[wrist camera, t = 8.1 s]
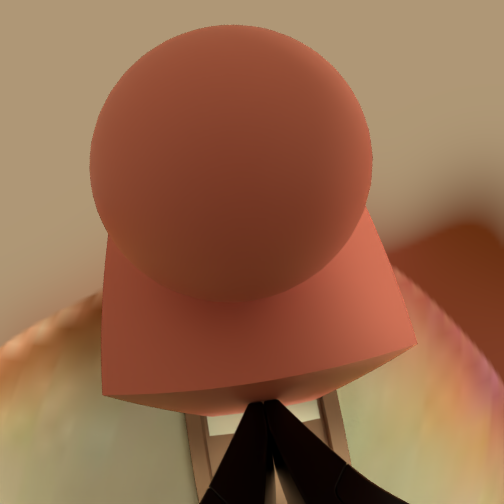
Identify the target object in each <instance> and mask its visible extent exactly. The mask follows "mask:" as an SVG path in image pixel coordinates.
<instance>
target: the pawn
mask: <svg viewBox="0 0 504 504" xmlns="http://www.w3.org/2000/svg"><path fill="white" fill-rule="evenodd" d="M372 160H373V156H372V148H371V140H370V135H369V129H368V126H367V123H366V120H365V117H364V114H363V111H362V109H361V106H360V104H359V102H358V101H357V99H356V97H355V95H354V93H353V91H352V90H351V88H350V87H349V85H348V84H347V83H346V81H345V80H344V79H343V77H342V76H341V75H340V74H339V72H338V71H337V70H336V69H335V68H334V67H333V66H332V65H331V64H330V63H329V62H327V61H326V60H325V59H324V58H323V57H322V56H321V55H319V54H318V53H317V52H315V51H314V50H312V49H311V48H309V47H308V46H306V45H304V44H303V43H301V42H299V41H297V40H295V39H293V38H291V37H289V36H286V35H284V34H280V33H278V32H275V31H272V30H269V29H265V28H260V27H253V26H243V25H219V26H211V27H205V28H201V29H197V30H193V31H190V32H187V33H184V34H181V35H179V36H176V37H174V38H172V39H169V40H167V41H165V42H164V43H162V44H160V45H159V46H157V47H155V48H154V49H152V50H151V51H149V52H147V53H146V54H145V55H143V56H142V57H141V58H140V59H139V60H138V61H137V62H136V63H135V64H134V65H132V66H131V67H130V68H129V69H128V70H127V71H126V72H125V74H124V75H123V76H122V77H121V79H120V80H119V81H118V82H117V84H116V85H115V87H114V88H113V90H112V91H111V92H110V94H109V96H108V98H107V100H106V102H105V104H104V106H103V108H102V110H101V112H100V114H99V116H98V120H97V123H96V127H95V130H94V134H93V138H92V142H91V152H90V179H91V187H92V192H93V197H94V201H95V204H96V207H97V211H98V213H99V216H100V218H101V220H102V223H103V224H104V227H105V229H106V230H107V232H108V241H107V251H106V261H105V271H104V284H103V301H102V328H101V367H102V394H103V395H104V396H108V397H111V398H115V399H119V400H123V401H127V402H132V403H136V404H140V405H145V406H150V407H155V408H160V409H165V410H170V411H176V412H182V413H188V414H195V415H201V416H209V417H214V416H223V415H232V414H239V413H244V412H245V409H246V407H247V405H248V404H249V403H254V402H262V403H264V401H267V400H273V399H278V400H279V401H280V402H281V403H282V404H283V405H284V406H288V405H294V404H298V403H303V402H308V401H313V400H315V399H317V398H320V397H322V396H324V395H326V394H328V393H330V392H332V391H334V390H336V389H338V388H340V387H342V386H344V385H346V384H348V383H350V382H352V381H354V380H356V379H358V378H360V377H362V376H363V375H365V374H367V373H369V372H371V371H373V370H374V369H376V368H378V367H380V366H382V365H383V364H385V363H387V362H389V361H390V360H392V359H394V358H395V357H397V356H399V355H400V354H402V353H404V352H405V351H407V350H408V349H410V348H412V347H413V346H415V345H416V344H417V340H416V337H415V334H414V330H413V327H412V324H411V321H410V318H409V315H408V312H407V309H406V306H405V303H404V300H403V297H402V295H401V292H400V289H399V286H398V283H397V281H396V278H395V275H394V273H393V270H392V267H391V265H390V262H389V260H388V257H387V255H386V252H385V250H384V247H383V245H382V243H381V240H380V238H379V235H378V233H377V231H376V228H375V226H374V224H373V221H372V219H371V217H370V215H369V212H368V210H367V208H366V206H365V205H366V201H367V197H368V194H369V190H370V186H371V177H372Z"/></svg>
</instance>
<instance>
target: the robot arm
mask: <svg viewBox="0 0 504 504" xmlns="http://www.w3.org/2000/svg"><path fill="white" fill-rule="evenodd" d="M274 465H275V468H274ZM275 470H276V473H277V476H278V479H279V481H280V484H281V487H282V490H283V493H284V495H285V498H286V501H287V503H288V504H409V503H407V502H405V501H403V500H401V499H400V498H398V497H396V496H394V495H392V494H391V493H389V492H387V491H385V490H384V489H382V488H380V487H379V486H377V485H376V484H374V483H373V482H371V481H370V480H368V479H367V478H366V477H364V476H363V475H362V474H360V473H359V472H358V471H357V470H355V469H354V468H353V467H352V466H351V465H349V464H347V462H346V461H345V460H343V459H342V458H341V457H340V456H339V455H338V454H337V453H335V452H334V451H333V450H332V449H331V448H330V447H329V446H327V445H326V444H325V443H324V442H323V441H322V440H321V439H320V438H319V437H317V436H316V435H315V434H314V433H313V432H312V431H311V430H310V429H309V428H308V427H307V426H305V425H304V424H303V423H302V422H301V421H300V420H299V419H298V418H297V417H296V416H295V415H294V414H293V413H292V412H291V411H290V410H289V409H288V408H286V407H285V406H284V405H283V404H282V403H281V402H280V401H279V400H278V399H273V400H267V401H264V403H262V402H254V403H249V404H248V405H247V407H246V409H245V412H244V414H243V416H242V418H241V420H240V422H239V425H238V427H237V429H236V431H235V433H234V435H233V437H232V439H231V442H230V444H229V446H228V448H227V450H226V452H225V454H224V456H223V458H222V460H221V462H220V464H219V466H218V468H217V470H216V472H215V474H214V476H213V478H212V480H211V482H210V484H209V488H207V490H206V492H205V494H204V496H203V498H202V499H201V501H200V503H199V504H276V483H275Z"/></svg>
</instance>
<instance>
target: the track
mask: <svg viewBox="0 0 504 504" xmlns="http://www.w3.org/2000/svg"><path fill="white" fill-rule="evenodd" d="M285 407H286V408H288V409H289V410H290V411H291V412H292V413H293V414H294V415H295V416H296V417H297V418H298V419H299V420H300V421H301V422H302V423H303V424H304V425H305V426H307V427H308V428H309V429H310V430H311V431H312V432H313V433H314V434H315V435H316V436H317V437H319V438H320V439H321V440H322V441H323V442H324V443H325V444H326V445H327V446H329V447H330V448H331V449H332V450H333V451H334V452H335V453H337V454H338V455H339V456H340V457H341V458H342V459H343V460H345V461H346V462H347V464H349V465H351V460H350V455H349V450H348V444H347V439H346V434H345V429H344V424H343V419H342V415H341V410H340V405H339V401H338V396H337V391H336V390H334V391H332V392H330V393H328V394H326V395H324V396H322V397H320V398H317V399H315V400H313V401H308V402H303V403H298V404H294V405H288V406H285ZM243 414H244V413H239V414H232V415H223V416H214V417H209V416H201V415H195V414H188V413H185V418H186V426H187V433H188V440H189V447H190V453H191V459H192V465H193V471H194V477H195V483H196V488H197V493H198V499H199V503H200V501H201V499H202V498H203V496H204V494H205V492H206V490H207V488H209V484H210V482H211V480H212V478H213V476H214V474H215V472H216V470H217V468H218V466H219V464H220V462H221V460H222V458H223V456H224V454H225V452H226V450H227V448H228V446H229V444H230V442H231V439H232V437H233V435H234V433H235V431H236V429H237V427H238V425H239V422H240V420H241V418H242V416H243ZM274 468H275V465H274ZM275 483H276V504H288V503H287V501H286V498H285V495H284V493H283V490H282V487H281V484H280V481H279V479H278V476H277V473H276V470H275Z"/></svg>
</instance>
